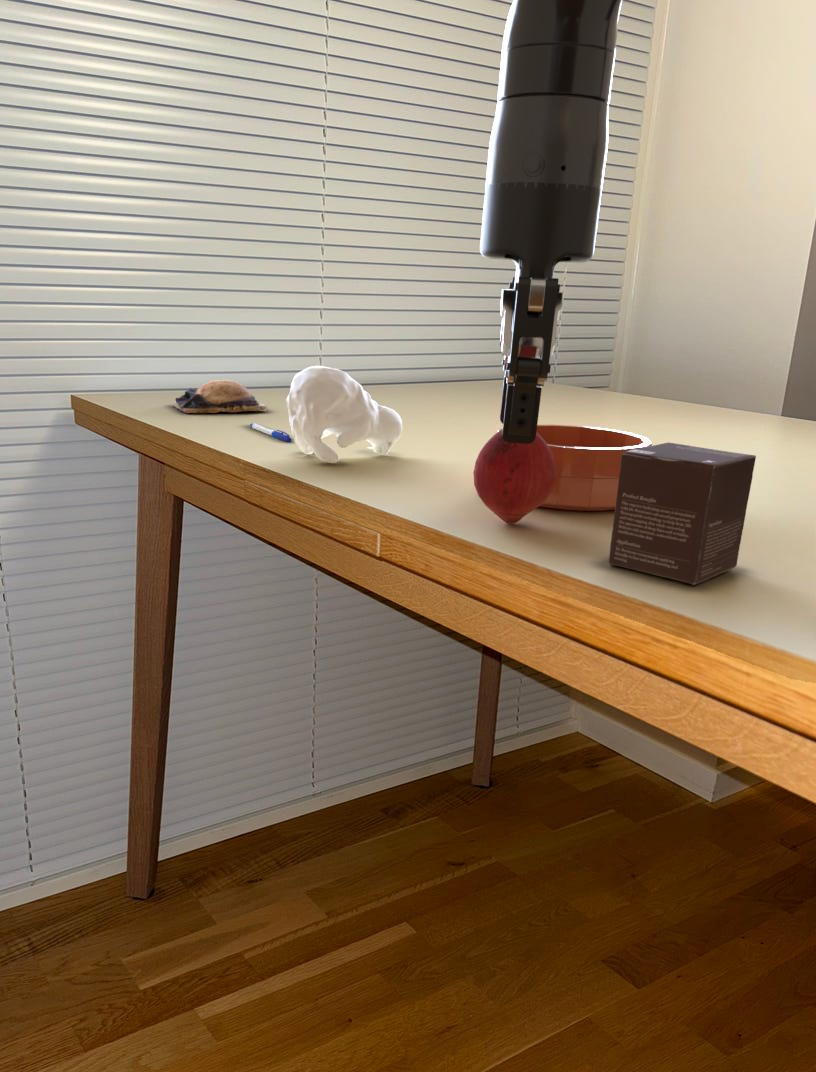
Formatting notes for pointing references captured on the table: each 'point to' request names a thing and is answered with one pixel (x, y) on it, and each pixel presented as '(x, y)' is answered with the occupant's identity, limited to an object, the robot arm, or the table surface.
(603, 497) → the bowl
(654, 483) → the box
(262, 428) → the ballpoint pen
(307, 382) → the white animal figurine
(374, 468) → the table surface
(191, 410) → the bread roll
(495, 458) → the onion
